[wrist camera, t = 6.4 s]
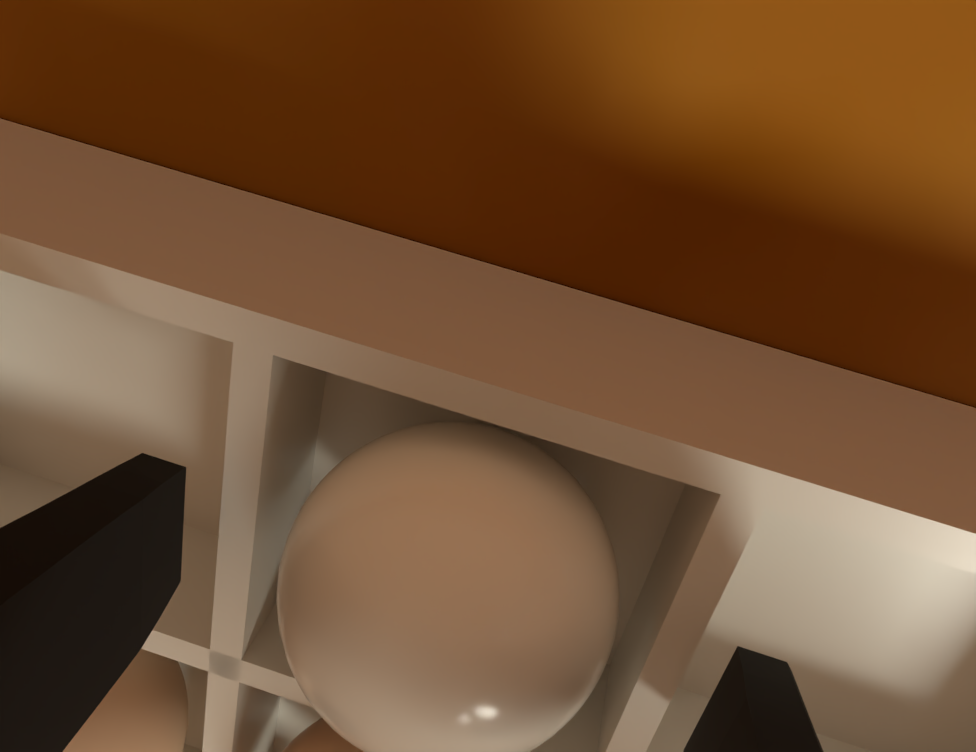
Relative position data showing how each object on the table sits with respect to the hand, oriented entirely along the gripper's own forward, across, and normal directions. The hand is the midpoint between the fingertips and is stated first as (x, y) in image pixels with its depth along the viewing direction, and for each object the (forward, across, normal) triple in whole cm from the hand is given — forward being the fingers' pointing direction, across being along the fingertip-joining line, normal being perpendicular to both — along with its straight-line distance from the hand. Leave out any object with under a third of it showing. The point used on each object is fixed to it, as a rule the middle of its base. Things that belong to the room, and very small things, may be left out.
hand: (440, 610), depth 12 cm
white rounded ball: (+3, 0, 0) cm, 3 cm away
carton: (+3, 0, +3) cm, 4 cm away
